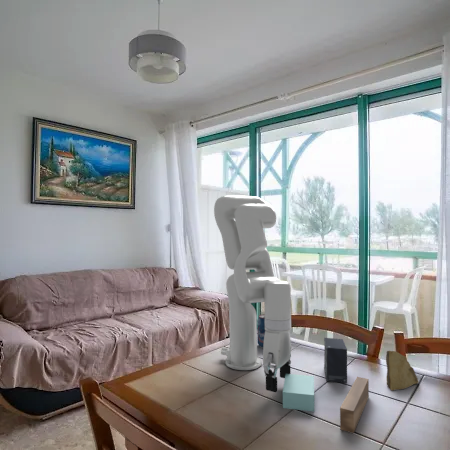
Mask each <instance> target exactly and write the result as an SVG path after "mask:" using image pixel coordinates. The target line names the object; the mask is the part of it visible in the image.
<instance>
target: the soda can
mask: <svg viewBox="0 0 450 450" xmlns="http://www.w3.org/2000/svg"><path fill="white" fill-rule="evenodd" d="M265 331H266V330H265V313H264V314H258V317H257V346H259V348H261V349H263V345H264V335H265Z"/></svg>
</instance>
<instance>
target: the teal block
mask: <svg viewBox="0 0 450 450" xmlns="http://www.w3.org/2000/svg"><path fill="white" fill-rule="evenodd" d="M282 408H283V409H289V410H297V411H298V410H299V411H308V412H315V377H314V375H305V374H294V373H293V374H292V373H291V374H286V375H285V378H284V381H283V388H282Z"/></svg>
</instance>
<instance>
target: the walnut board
mask: <svg viewBox="0 0 450 450" xmlns="http://www.w3.org/2000/svg"><path fill="white" fill-rule="evenodd" d="M369 382H370V381H369V378H365V377H360V376H356V378H355V380H354V381H353V384H352V385H351V386H350V389H349V391H348V392H347V395H346V396H345V398H344V400H343V402H342V403H341V406H340V407H339V417H340V419H339V421H340V423H339V425H340V426H339V428H340V430H341V431H345V432H347V433H351V434H355V432H356V429H357V426H358V424H359V422H360V419H361V417H362V414H363V413H364V410H365V407H366V405H367V402H368V400H369V396H370V395H369V393H370V390H369V388H370V387H369V386H370V385H369Z"/></svg>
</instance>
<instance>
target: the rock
mask: <svg viewBox="0 0 450 450" xmlns="http://www.w3.org/2000/svg"><path fill="white" fill-rule="evenodd" d="M385 362H386V369H387V371H386V385H387V388H388V389H389V390H390V391H392V392H393V391H396V390H397V391H398V390H404V389H408V388H409V387H412V386H413V385H416V384H419V383H420V382H419V380H418V379H419V378H418V376H417V375H416V372H415V369H414V368H413V366H411V364H410V362H409V361H408V358H407V357H406V356H405V355H403V354H401V353H399V352H397V351H395V350H387V351H386V356H385Z"/></svg>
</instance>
